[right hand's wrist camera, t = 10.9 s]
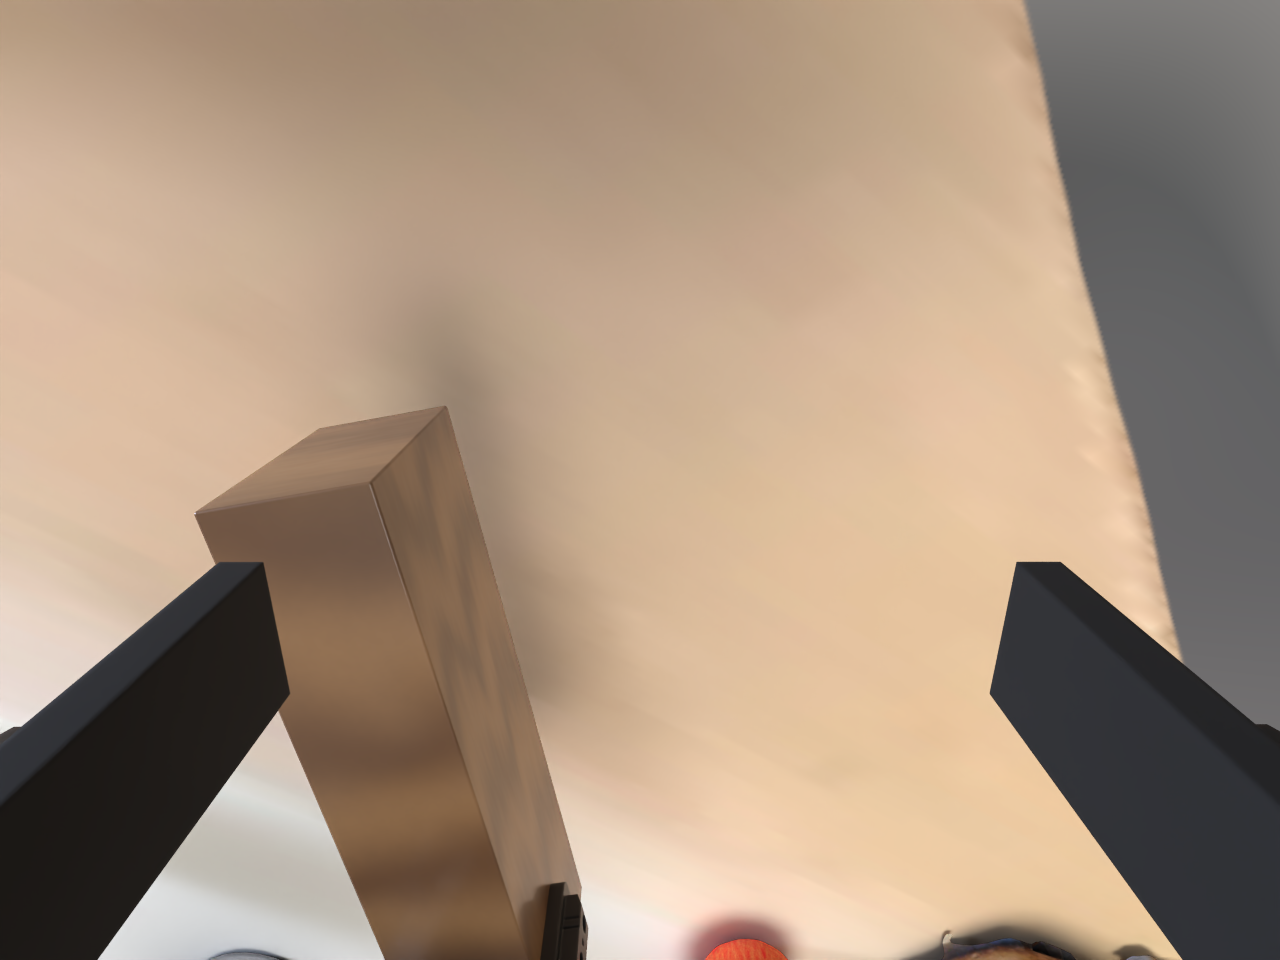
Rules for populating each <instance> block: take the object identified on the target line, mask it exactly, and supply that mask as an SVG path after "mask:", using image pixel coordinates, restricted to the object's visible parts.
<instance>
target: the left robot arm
mask: <svg viewBox="0 0 1280 960" xmlns="http://www.w3.org/2000/svg"><path fill="white" fill-rule="evenodd" d="M587 938H588V926H587V922H586V919H585V915H584V912H583V908H582V904H581V902H580V899H579V896H578V894H573V895H570V891H569V888H568V884H567V882H559V883H552V884H550V888H549V895H548V903H547V911H546V919H545V926H544V934H543V942H542V950H541V957H540V960H586V953H587V952H586V950H587ZM211 960H279V959H276V958H273V957H270V956H267V955H263V954H257V953H248V952H237V953H229V954H224V955H220V956H217V957H215V958H212V959H211Z"/></svg>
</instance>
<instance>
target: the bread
mask: <svg viewBox="0 0 1280 960" xmlns="http://www.w3.org/2000/svg"><path fill="white" fill-rule="evenodd" d="M952 936H953V935H952V934H946V935H945V937H944V940H943V947H944V957H943V959H942V960H1076V959H1075V958H1074V957H1073V956H1072V954H1071V953H1068V952H1066V951H1064V950H1062V949H1060V948H1058V947H1055V946H1053V945H1050V944H1047V943H1045V942H1042V941H1041V942H1035V943H1033V944H1028V943H1025V942H1022V941H1020V940H1016V939H1012V938H1006V939H1000V940H996V941H993V942H989V943H984V944H978V945H960V944H954V943H951V941H950V939H951V937H952ZM1126 960H1156V959H1155V958H1153V957H1151V956H1149V955H1147V956H1132V957H1129V958H1128V959H1126Z"/></svg>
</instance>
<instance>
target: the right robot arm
mask: <svg viewBox="0 0 1280 960" xmlns="http://www.w3.org/2000/svg"><path fill="white" fill-rule="evenodd" d="M289 695H290V689H289V684H288V680H287V675H286V670H285V665H284V660H283V655H282V650H281V645H280V641H279V636H278V631H277V626H276V621H275V616H274V611H273V606H272V601H271V597H270V592H269V587H268V582H267V577H266V572H265V567H264V562H219V563H218V564H216V565H215V566H214V567H213V568H212V569H210V570H209V571H208V572H207V573H206V574H204V575H203V576H202V577H201V578H200V579H198V580H197V581H196V582H195V583H194V584H192V585H191V586H190V587H189V588H188V589H186V590H185V591H184V592H183V593H182V594H180V595H179V596H178V597H177V598H176V599H174V600H173V601H172V602H171V603H170V604H168V605H167V606H166V607H165V608H164V609H162V610H161V611H160V612H159V613H158V614H156V615H155V616H154V617H153V618H152V619H150V620H149V621H148V622H147V623H146V624H144V625H143V626H142V627H141V628H140V629H138V630H137V631H136V632H135V633H134V634H132V635H131V636H130V637H129V638H128V639H126V640H125V641H124V642H123V643H122V644H120V645H119V646H118V647H117V648H116V649H114V650H113V651H112V652H111V653H110V654H108V655H107V656H106V657H105V658H104V659H102V660H101V661H100V662H99V663H98V664H96V665H95V666H94V667H93V668H92V669H90V670H89V671H88V672H87V673H86V674H84V675H83V676H82V677H81V678H80V679H78V680H77V681H76V682H75V683H74V684H72V685H71V686H70V687H69V688H68V689H66V690H65V691H64V692H63V693H62V694H60V695H59V696H58V697H57V698H56V699H54V700H53V701H52V702H51V703H50V704H48V705H47V706H46V707H45V708H44V709H42V710H41V711H40V712H39V713H38V714H36V715H35V716H34V717H33V718H32V719H30V720H29V721H28V722H27V723H26V724H24V725H23V726H22V727H13V728H11V729H9V730H7V731H6V732H4V733H2V734H0V960H98V958H99V957H100V955H101V954H102V953H103V951H104V950H105V949H106V947H107V946H108V944H109V943H110V942H111V940H112V939H113V938H114V936H115V935H116V933H117V932H118V931H119V929H120V928H121V926H122V925H123V924H124V922H125V921H126V920H127V918H128V917H129V915H130V914H131V913H132V911H133V910H134V909H135V907H136V906H137V904H138V903H139V902H140V900H141V899H142V898H143V896H144V895H145V893H146V892H147V891H148V889H149V888H150V887H151V885H152V884H153V882H154V881H155V880H156V878H157V877H158V875H159V874H160V873H161V871H162V870H163V869H164V867H165V866H166V864H167V863H168V862H169V860H170V859H171V858H172V856H173V855H174V853H175V852H176V851H177V849H178V848H179V847H180V845H181V844H182V842H183V841H184V840H185V838H186V837H187V835H188V834H189V833H190V831H191V830H192V829H193V827H194V826H195V824H196V823H197V822H198V820H199V819H200V818H201V816H202V815H203V813H204V812H205V811H206V809H207V808H208V807H209V805H210V804H211V802H212V801H213V800H214V798H215V797H216V796H217V794H218V793H219V791H220V790H221V789H222V787H223V786H224V784H225V783H226V782H227V780H228V779H229V778H230V776H231V775H232V773H233V772H234V771H235V769H236V768H237V767H238V765H239V764H240V762H241V761H242V760H243V758H244V757H245V756H246V754H247V753H248V751H249V750H250V749H251V747H252V746H253V744H254V743H255V742H256V740H257V739H258V738H259V736H260V735H261V733H262V732H263V731H264V729H265V728H266V727H267V725H268V724H269V722H270V721H271V720H272V718H273V717H274V716H275V714H276V713H277V711H278V710H279V709H280V707H281V706H282V705H283V703H284V702H285V700H286V699H287V698H288V696H289ZM990 695H991V696H992V698H993V699H994V700H995V702H996V703H997V705H998V706H999V707H1000V709H1001V710H1002V711H1003V713H1004V714H1005V716H1006V717H1007V718H1008V720H1009V721H1010V722H1011V724H1012V725H1013V727H1014V728H1015V729H1016V731H1017V732H1018V733H1019V735H1020V736H1021V738H1022V739H1023V740H1024V742H1025V743H1026V744H1027V746H1028V747H1029V749H1030V750H1031V751H1032V753H1033V754H1034V756H1035V757H1036V758H1037V760H1038V761H1039V762H1040V764H1041V765H1042V767H1043V768H1044V769H1045V771H1046V772H1047V773H1048V775H1049V776H1050V778H1051V779H1052V780H1053V782H1054V783H1055V784H1056V786H1057V787H1058V789H1059V790H1060V791H1061V793H1062V794H1063V796H1064V797H1065V798H1066V800H1067V801H1068V802H1069V804H1070V805H1071V807H1072V808H1073V809H1074V811H1075V812H1076V813H1077V815H1078V816H1079V818H1080V819H1081V820H1082V822H1083V823H1084V824H1085V826H1086V827H1087V829H1088V830H1089V831H1090V833H1091V834H1092V835H1093V837H1094V838H1095V840H1096V841H1097V842H1098V844H1099V845H1100V847H1101V848H1102V849H1103V851H1104V852H1105V853H1106V855H1107V856H1108V858H1109V859H1110V860H1111V862H1112V863H1113V864H1114V866H1115V867H1116V869H1117V870H1118V871H1119V873H1120V874H1121V875H1122V877H1123V878H1124V880H1125V881H1126V882H1127V884H1128V885H1129V887H1130V888H1131V889H1132V891H1133V892H1134V893H1135V895H1136V896H1137V898H1138V899H1139V900H1140V902H1141V903H1142V904H1143V906H1144V907H1145V909H1146V910H1147V911H1148V913H1149V914H1150V915H1151V917H1152V918H1153V920H1154V921H1155V922H1156V924H1157V925H1158V926H1159V928H1160V929H1161V931H1162V932H1163V933H1164V935H1165V936H1166V938H1167V939H1168V940H1169V942H1170V943H1171V944H1172V946H1173V947H1174V949H1175V950H1176V951H1177V953H1178V954H1179V955H1180V957H1181V958H1182V960H1280V731H1278V730H1276V729H1275V728H1273V727H1271V726H1269V725H1267V724H1254V723H1253V722H1252V721H1251V720H1250V719H1248V718H1247V717H1246V716H1245V715H1244V714H1242V713H1241V712H1240V711H1239V710H1238V709H1236V708H1235V707H1234V706H1233V705H1232V704H1230V703H1229V702H1228V701H1227V700H1226V699H1224V698H1223V697H1222V696H1221V695H1220V694H1218V693H1217V692H1216V691H1215V690H1214V689H1212V688H1211V687H1210V686H1209V685H1208V684H1206V683H1205V682H1204V681H1203V680H1202V679H1200V678H1199V677H1198V676H1197V675H1196V674H1194V673H1193V672H1192V671H1191V670H1190V669H1188V668H1187V667H1186V666H1185V665H1184V664H1182V663H1181V662H1180V661H1179V660H1178V659H1176V658H1175V657H1174V656H1173V655H1172V654H1170V653H1169V652H1168V651H1167V650H1166V649H1164V648H1163V647H1162V646H1161V645H1160V644H1158V643H1157V642H1156V641H1155V640H1154V639H1152V638H1151V637H1150V636H1149V635H1148V634H1146V633H1145V632H1144V631H1143V630H1142V629H1140V628H1139V627H1138V626H1137V625H1136V624H1134V623H1133V622H1132V621H1131V620H1130V619H1128V618H1127V617H1126V616H1125V615H1124V614H1122V613H1121V612H1120V611H1119V610H1118V609H1116V608H1115V607H1114V606H1113V605H1112V604H1110V603H1109V602H1108V601H1107V600H1106V599H1104V598H1103V597H1102V596H1101V595H1100V594H1098V593H1097V592H1096V591H1095V590H1094V589H1092V588H1091V587H1090V586H1089V585H1088V584H1086V583H1085V582H1084V581H1083V580H1082V579H1080V578H1079V577H1078V576H1077V575H1076V574H1074V573H1073V572H1072V571H1071V570H1070V569H1068V568H1067V567H1066V566H1065V565H1064V564H1062V563H1061V562H1016V567H1015V572H1014V577H1013V582H1012V587H1011V592H1010V597H1009V601H1008V606H1007V611H1006V616H1005V621H1004V626H1003V631H1002V636H1001V641H1000V645H999V650H998V655H997V660H996V665H995V670H994V675H993V680H992V684H991V689H990Z"/></svg>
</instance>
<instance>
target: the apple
mask: <svg viewBox="0 0 1280 960" xmlns="http://www.w3.org/2000/svg"><path fill="white" fill-rule="evenodd" d="M705 960H788V959H787V958H786V957H785V956H784V955H783V954H782V953H781V952H780V951H779V950H777V949H776V948H774V947H772V946H770V945H768V944H766V943H764V942H762V941H759V940H755V939H737V940H733V941H730V942H727V943H723V944H721V945H719V946H717V947H716V948H715V949H714V950H713V951H712V952H711V953H710V954H709V955H708V956H707V958H706V959H705Z"/></svg>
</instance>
